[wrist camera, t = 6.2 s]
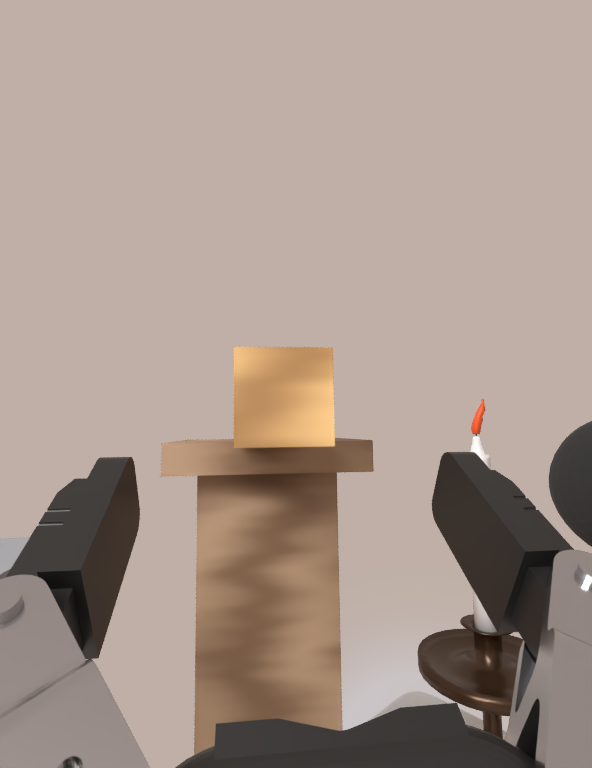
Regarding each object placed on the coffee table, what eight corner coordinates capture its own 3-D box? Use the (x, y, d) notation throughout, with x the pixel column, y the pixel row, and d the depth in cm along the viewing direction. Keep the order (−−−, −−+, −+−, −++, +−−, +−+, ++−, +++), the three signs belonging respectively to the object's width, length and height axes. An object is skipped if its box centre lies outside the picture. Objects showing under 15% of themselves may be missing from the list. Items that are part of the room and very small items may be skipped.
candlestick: (606, 867, 33) (569, 397, 37) (551, 988, 26) (511, 391, 30) (468, 781, 41) (449, 404, 45) (397, 856, 34) (382, 400, 38)
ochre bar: (278, 437, 35) (278, 400, 35) (335, 446, 13) (332, 347, 14) (240, 438, 35) (240, 400, 35) (233, 448, 13) (234, 346, 13)
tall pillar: (349, 937, 29) (337, 437, 32) (413, 1248, 18) (385, 440, 21) (174, 963, 27) (182, 439, 31) (127, 1315, 16) (147, 443, 20)
